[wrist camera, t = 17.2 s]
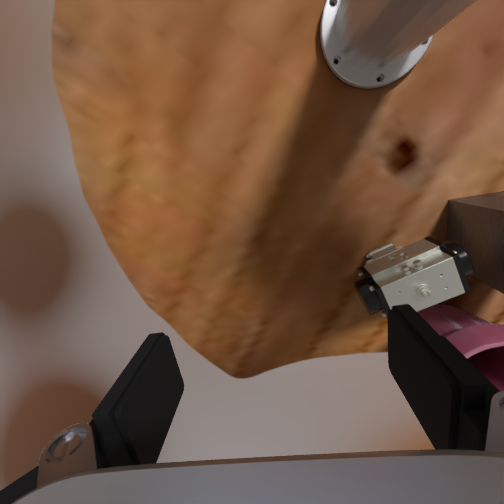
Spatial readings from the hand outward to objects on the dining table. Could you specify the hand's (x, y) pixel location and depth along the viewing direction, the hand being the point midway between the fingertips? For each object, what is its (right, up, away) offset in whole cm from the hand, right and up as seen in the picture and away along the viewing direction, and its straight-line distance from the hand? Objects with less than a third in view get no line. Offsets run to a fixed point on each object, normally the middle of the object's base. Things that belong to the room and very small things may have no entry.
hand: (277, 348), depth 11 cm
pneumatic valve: (+18, +4, +28) cm, 33 cm away
